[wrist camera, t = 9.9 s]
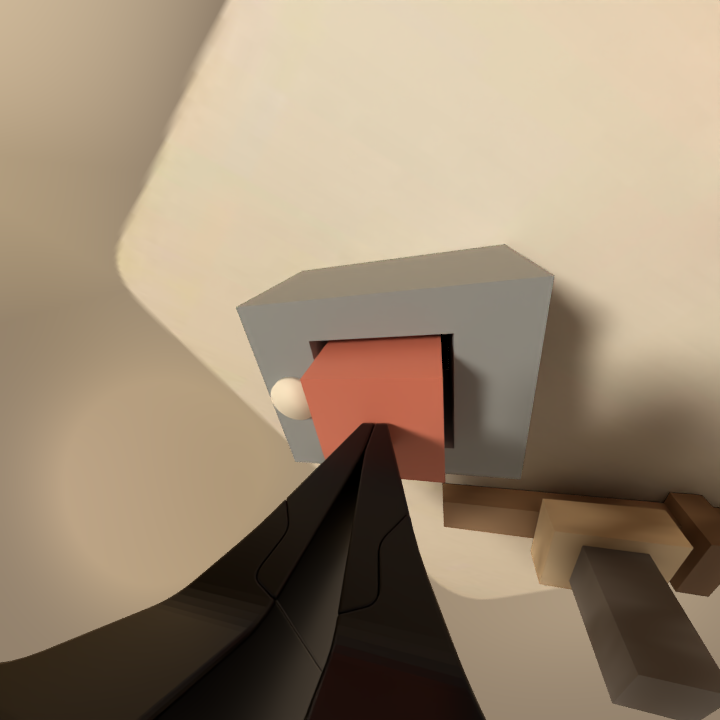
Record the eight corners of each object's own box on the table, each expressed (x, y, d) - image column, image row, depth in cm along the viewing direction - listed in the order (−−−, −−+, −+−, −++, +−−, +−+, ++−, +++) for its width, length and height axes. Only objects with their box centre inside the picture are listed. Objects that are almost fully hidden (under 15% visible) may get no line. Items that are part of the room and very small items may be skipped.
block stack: (665, 510, 15) (808, 701, 10) (633, 566, 18) (728, 740, 12) (542, 498, 17) (600, 656, 11) (530, 551, 20) (571, 699, 14)
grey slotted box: (504, 244, 12) (558, 278, 7) (493, 391, 16) (522, 486, 11) (302, 271, 15) (230, 310, 10) (332, 390, 19) (292, 466, 13)
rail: (731, 497, 16) (787, 553, 13) (696, 545, 18) (738, 601, 16) (442, 474, 20) (443, 513, 18) (443, 515, 23) (444, 555, 20)
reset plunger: (440, 321, 11) (442, 377, 7) (442, 407, 13) (445, 482, 9) (338, 328, 12) (300, 379, 8) (354, 405, 14) (329, 472, 10)
